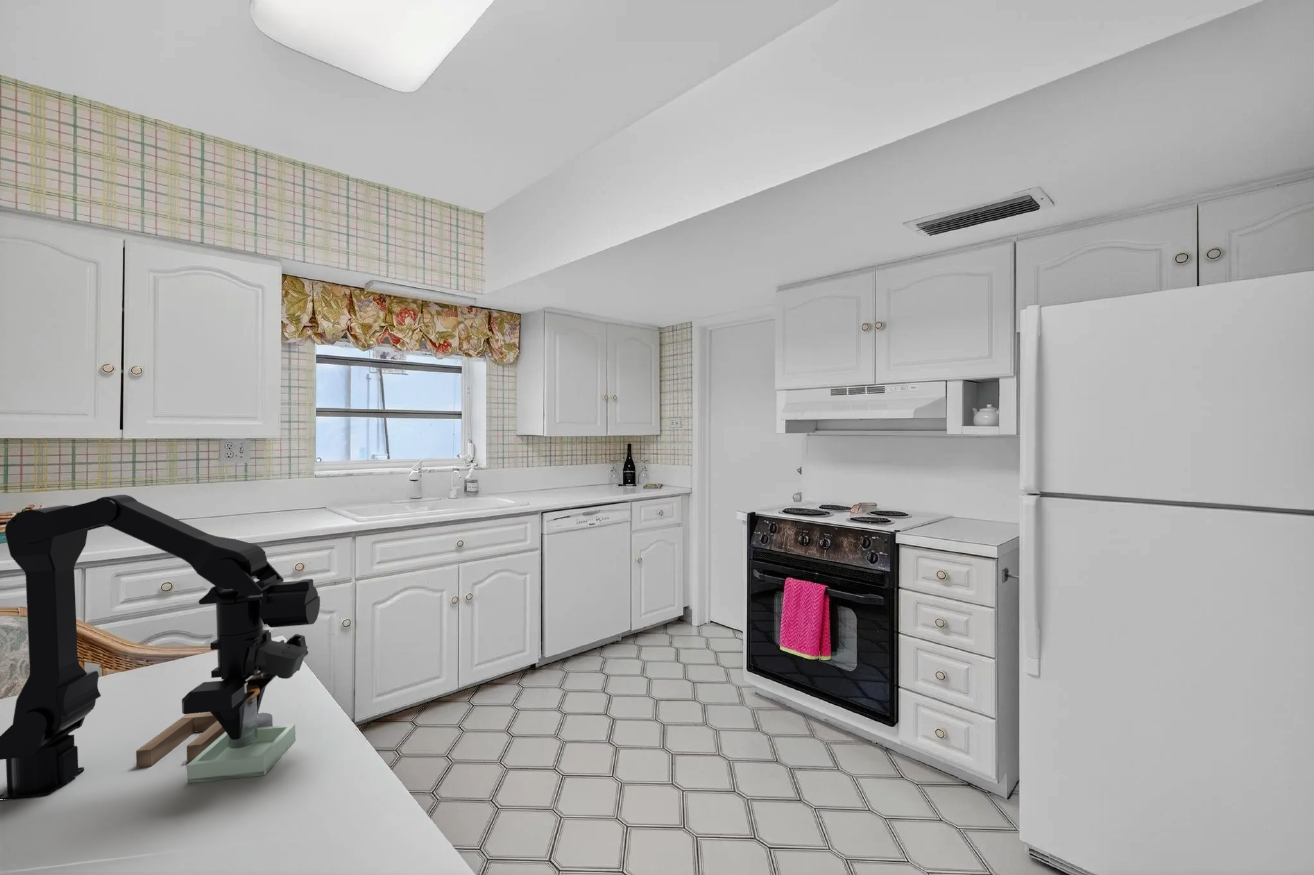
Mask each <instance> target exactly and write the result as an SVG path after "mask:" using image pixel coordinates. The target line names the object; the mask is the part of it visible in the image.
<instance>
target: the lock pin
mask: <svg viewBox="0 0 1314 875" xmlns="http://www.w3.org/2000/svg"><path fill="white" fill-rule="evenodd" d="M246 691H247V693H250V692H255V693H254V695H253V696H252V697H251V698H250V699H249V700H248V701H247V702H246V703H245V708H244V718H243V727H242V733H241V738H240V739H238V740H232V739H231V738H230V737H229V735H228V737H229V747H230V748H233V749H236V748H242V747H246V746H249V745H251V744H253V743H255V742H256V741H257V740H258V728H257V695H258V694H259V693H260V688H259V686H258V685H246Z"/></svg>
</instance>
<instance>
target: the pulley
mask: <svg viewBox="0 0 1314 875" xmlns="http://www.w3.org/2000/svg"><path fill="white" fill-rule="evenodd" d="M273 722H274V721H273V715H272V714H271V713H268V712H258V715H257V728H260V727H270V726H274V724H273Z"/></svg>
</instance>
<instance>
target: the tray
mask: <svg viewBox="0 0 1314 875" xmlns="http://www.w3.org/2000/svg"><path fill="white" fill-rule="evenodd" d="M296 738H297V737H296V723H291V724H284V725H273V726H270V727H260V728H258V740H257V741H256V742H255V743H253V744H251V745H249V746H246V747H242V748H236V749H233V748H230V747H229V737H228V734H227V733H226V732H225V733H223V734H222V735H221V736H220V737H219V738H218V739H217V740H215V741H214V742H213V743H212V744H211V745H210V746H208V747H207V748H206V749H205V750H204V751H203V752H202V753H200V754H199V755H198V756H197V757H196V758H195V759H193V760H192V761H191V762H188V764H186V778H187V779H186V780H187V781H186V784H196V783H197V784H198V783H203V782H204V783H207V782H214V781H222V780H223V781H224V780H233V779H242V778H243V779H244V778H252V777H253V778H254V777H260V776H265V775H266V774H267V773H268V771H270V769H271V768H272V767H273V766H274V765H275V764H276V763H277V762H278V760H280V758H282V756H283V755H284V754H285V753H286V752H287V750H288V749H289V748H290V747H291V746H292V745H293V744H294V743H295V741H296Z"/></svg>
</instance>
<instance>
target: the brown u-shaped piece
mask: <svg viewBox="0 0 1314 875" xmlns="http://www.w3.org/2000/svg"><path fill="white" fill-rule="evenodd" d="M225 732H226V731H225V730H224V729H223V727H222V726H221V725H220V723H219V722H218V721H217V719H216V718H215V717H214V716H213V715H212V714H211V712H205V713H194V714H184V715H183V716H182V717H181V718H179V719H177V720H176V721H175V722H174V723H172V724H171V725H170V726H168V727H166V728H165V729H164V730H163V731H161V732H160V733H159V734H157V735H156V736H154V737H153V738H152V739H151V740H149V741H148V742H146V743H145V744H143V745H142V746H141V747H140V748H138V749H137V750H135V751H136V752H135V756H136V757H135V758H136V759H135V761H136V763H135V764H136V768H145V767H152V766H154V765H155V764H156V763H157V762H159V761H160V760H161V759H163V758H164V757H165V756H166V755H167V754H168V753H170V752H171V751H173V750H174V749H175V748H177V746H179V745H181V743H183V742H184V741H185V740H187V739H188V738H189V737H190V736H191V735H193V734H194V733H201V734H199V735H198V736H197V737H196V738H194V739H193V740H192V741H190V743H188V744H187V745H186V763H190V762H191V761H192V760H193V759H195V758H196V757H197V756H198V755H199V754H200V753H202V752H203V751H204V750H205V749H206V748H207V747H208V746H210V745H211V744H212V743H213V742H214V741H215V740H217V739H218V738H219V737H220V736H221V735H222V734H223V733H225Z"/></svg>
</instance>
